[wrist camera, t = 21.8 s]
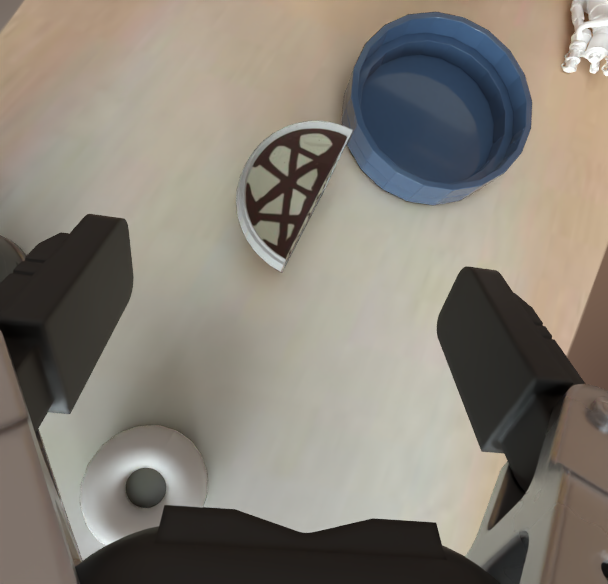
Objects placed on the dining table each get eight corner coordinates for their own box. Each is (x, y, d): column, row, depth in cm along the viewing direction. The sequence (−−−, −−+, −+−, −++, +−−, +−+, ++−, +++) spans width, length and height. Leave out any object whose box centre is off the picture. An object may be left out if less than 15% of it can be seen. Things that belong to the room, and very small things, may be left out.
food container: (275, 147, 41) (282, 84, 31) (331, 176, 41) (356, 123, 31) (216, 256, 39) (203, 226, 29) (275, 286, 39) (282, 267, 29)
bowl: (333, 191, 41) (343, 173, 36) (349, 31, 43) (361, -5, 39) (500, 217, 43) (528, 202, 38) (506, 62, 45) (534, 31, 41)
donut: (78, 536, 34) (199, 548, 35) (58, 558, 31) (193, 570, 32) (103, 414, 36) (219, 428, 37) (87, 421, 32) (215, 437, 33)
